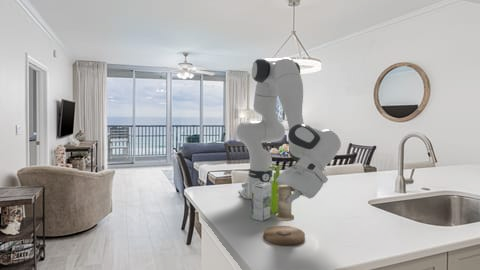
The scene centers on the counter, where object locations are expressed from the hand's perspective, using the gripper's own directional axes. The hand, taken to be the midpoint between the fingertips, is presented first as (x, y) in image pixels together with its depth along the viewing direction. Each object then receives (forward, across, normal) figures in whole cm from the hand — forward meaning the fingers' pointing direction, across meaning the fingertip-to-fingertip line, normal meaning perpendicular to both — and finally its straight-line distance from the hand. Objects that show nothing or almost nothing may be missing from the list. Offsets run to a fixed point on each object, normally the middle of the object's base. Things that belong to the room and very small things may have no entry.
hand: (283, 199), depth 103 cm
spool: (+4, 0, +5) cm, 6 cm away
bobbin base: (+9, 0, +10) cm, 13 cm away
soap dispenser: (+1, -26, +18) cm, 32 cm away
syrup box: (+8, -20, +10) cm, 24 cm away
